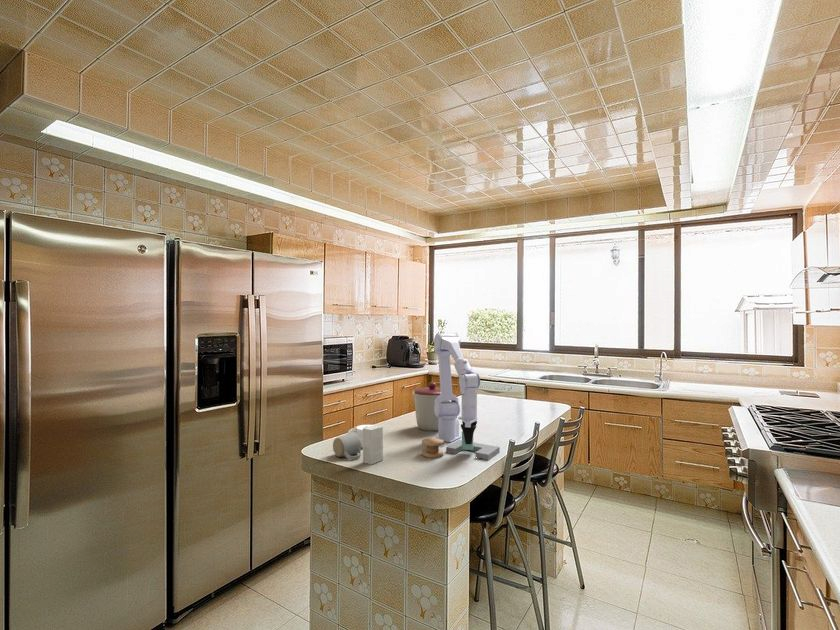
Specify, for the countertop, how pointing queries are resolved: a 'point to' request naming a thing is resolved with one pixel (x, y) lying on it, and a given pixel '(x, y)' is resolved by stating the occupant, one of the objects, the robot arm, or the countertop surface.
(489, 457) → the gray u-shaped block
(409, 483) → the countertop surface
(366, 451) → the skincare box
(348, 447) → the ceramic mug
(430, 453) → the bobbin
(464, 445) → the tab block
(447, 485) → the countertop surface
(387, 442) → the countertop surface
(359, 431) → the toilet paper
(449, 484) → the countertop surface
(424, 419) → the canister
